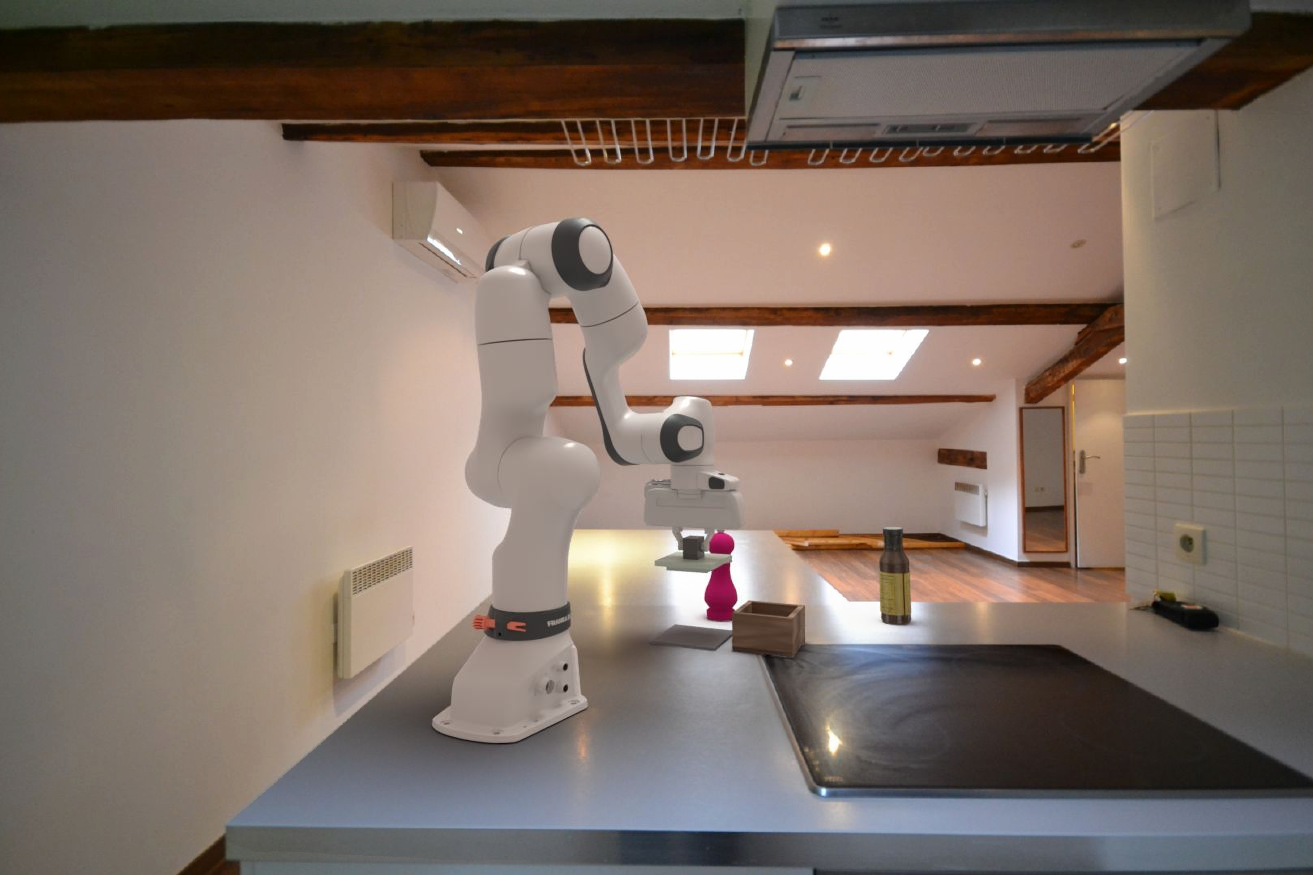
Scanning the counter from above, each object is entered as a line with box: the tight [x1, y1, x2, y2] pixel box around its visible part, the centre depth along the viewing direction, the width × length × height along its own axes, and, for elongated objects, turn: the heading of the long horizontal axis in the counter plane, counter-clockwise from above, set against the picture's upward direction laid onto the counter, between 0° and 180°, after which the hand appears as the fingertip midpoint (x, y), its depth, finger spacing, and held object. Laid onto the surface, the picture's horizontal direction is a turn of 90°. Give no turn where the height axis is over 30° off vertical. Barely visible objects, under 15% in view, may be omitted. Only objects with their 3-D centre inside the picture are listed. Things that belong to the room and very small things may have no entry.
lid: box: [654, 535, 732, 574], centre depth 137 cm, size 12×12×6 cm
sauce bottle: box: [878, 526, 912, 626], centre depth 149 cm, size 6×6×20 cm
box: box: [731, 600, 806, 658], centre depth 131 cm, size 11×11×7 cm
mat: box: [649, 623, 732, 652], centre depth 137 cm, size 13×13×1 cm
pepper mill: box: [703, 529, 739, 622], centre depth 152 cm, size 7×7×20 cm
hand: (693, 550), depth 137 cm, fingers closed on lid, 3 cm apart
